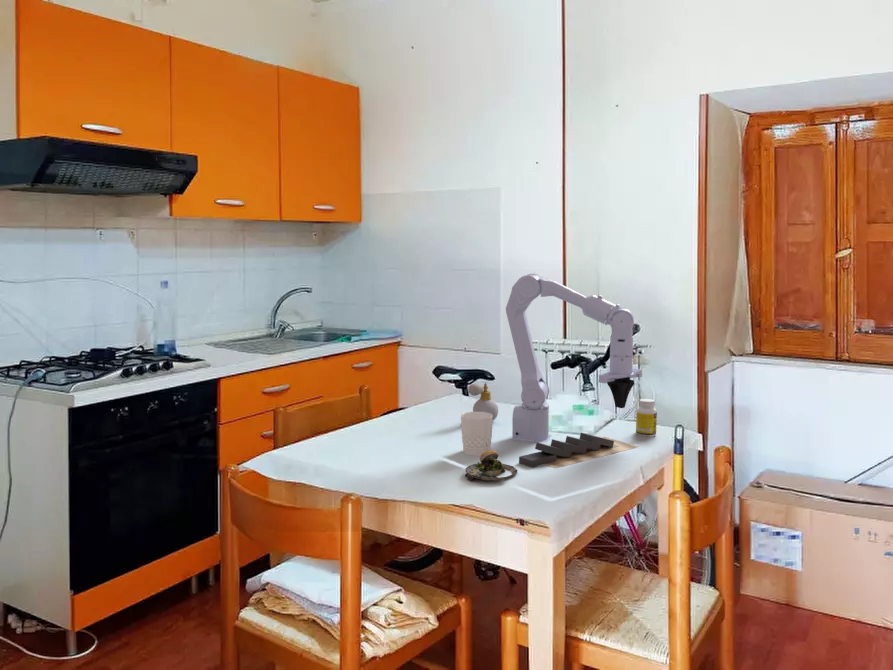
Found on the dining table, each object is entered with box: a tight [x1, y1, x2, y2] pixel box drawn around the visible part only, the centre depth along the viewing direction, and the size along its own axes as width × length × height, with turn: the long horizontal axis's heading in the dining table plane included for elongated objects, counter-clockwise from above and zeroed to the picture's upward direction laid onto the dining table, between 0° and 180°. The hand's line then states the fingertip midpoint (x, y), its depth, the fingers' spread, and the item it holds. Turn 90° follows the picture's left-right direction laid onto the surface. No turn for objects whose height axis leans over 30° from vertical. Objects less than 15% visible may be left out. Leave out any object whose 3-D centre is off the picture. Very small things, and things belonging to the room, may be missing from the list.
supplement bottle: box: [635, 398, 658, 438], centre depth 211 cm, size 5×5×10 cm
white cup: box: [460, 411, 493, 457], centre depth 194 cm, size 8×8×10 cm
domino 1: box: [518, 451, 556, 468], centre depth 185 cm, size 2×4×8 cm
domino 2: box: [534, 442, 572, 458], centre depth 188 cm, size 2×4×8 cm
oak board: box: [544, 436, 641, 469], centre depth 194 cm, size 30×12×1 cm, turn 127°
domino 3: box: [550, 439, 587, 454], centre depth 191 cm, size 2×4×8 cm
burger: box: [464, 443, 518, 482], centre depth 176 cm, size 12×12×8 cm
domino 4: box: [564, 435, 601, 451], centre depth 194 cm, size 2×4×8 cm
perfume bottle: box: [467, 382, 499, 422], centre depth 226 cm, size 8×10×12 cm
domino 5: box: [578, 432, 614, 447], centre depth 197 cm, size 2×4×8 cm
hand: (620, 407), depth 201 cm, fingers closed
